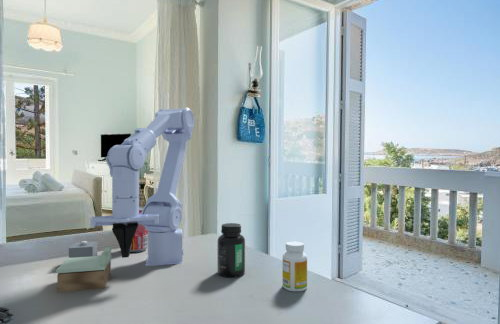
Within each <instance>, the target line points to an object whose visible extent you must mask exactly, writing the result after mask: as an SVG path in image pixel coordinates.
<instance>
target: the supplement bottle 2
mask: <svg viewBox="0 0 500 324" xmlns="http://www.w3.org/2000/svg"><path fill="white" fill-rule="evenodd" d="M285 250H286V251H284V252H283V254H282V288H283V289H285V290H287V291H289V292H303V291H305V290H306V289H307V288H308V255H307V254H306V252H304V250H305V243H303V242H301V241H295V240H294V241H287V242H286V243H285Z"/></svg>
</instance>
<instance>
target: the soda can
mask: <svg viewBox="0 0 500 324" xmlns="http://www.w3.org/2000/svg"><path fill="white" fill-rule="evenodd" d="M143 208H144V206H139V214H141V212H142V210H143ZM132 222H134V221H132ZM126 226H127V225H126ZM147 249H148V230H145V227H144V226H143V225H142V224H139V225H138V228H137V230H136V232H135V235H134V237H133V240H132V243H131V248H130V252H136V253H140V252H141V251H142V252H144V251H146V250H147Z"/></svg>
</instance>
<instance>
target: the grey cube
mask: <svg viewBox="0 0 500 324" xmlns="http://www.w3.org/2000/svg"><path fill="white" fill-rule="evenodd" d="M91 256H98V241H87V240H82V241H79V242H78V241H77V242H74V243H73V244H72V245H70V246H69V247H68V258H76V257H91Z"/></svg>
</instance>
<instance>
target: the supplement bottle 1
mask: <svg viewBox="0 0 500 324" xmlns="http://www.w3.org/2000/svg"><path fill="white" fill-rule="evenodd" d="M220 233H221V235H219V236H218V238H217V241H216V243H217V245H216V246H217V249H216V251H217V255H216V256H217V262H216V263H217V265H216V266H217V267H216V269H217V274H218V275H219V276H220V277H223V278H230V279H231V278H232V279H233V278H239V277H242V276H243V275H244V274H245V273H246V239H245V236H244V235H242V234H241V233H242V224H241V223H238V222H237V223H235V222H228V223H227V222H226V223H223V224H221V231H220Z"/></svg>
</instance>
